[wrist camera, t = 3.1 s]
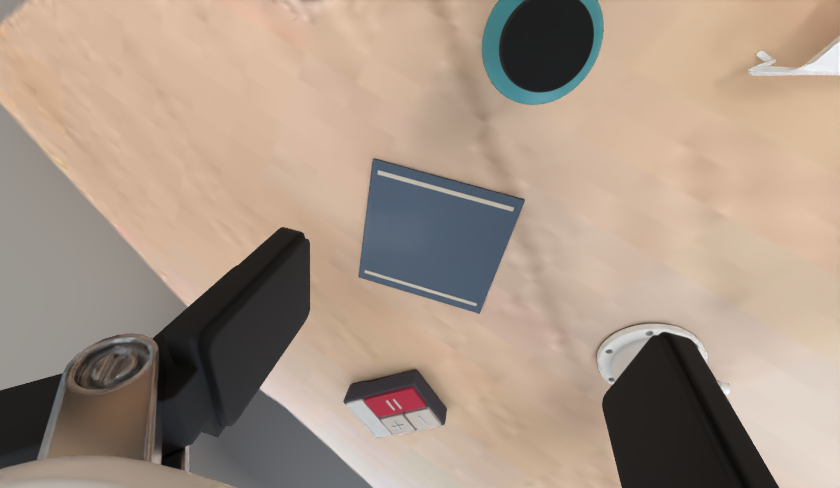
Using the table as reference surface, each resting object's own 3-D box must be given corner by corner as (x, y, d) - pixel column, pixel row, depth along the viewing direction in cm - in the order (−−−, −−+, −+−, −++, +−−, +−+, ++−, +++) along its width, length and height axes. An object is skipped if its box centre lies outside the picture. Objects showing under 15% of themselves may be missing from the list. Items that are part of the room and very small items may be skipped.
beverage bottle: (518, 93, 34) (524, 154, 18) (477, 33, 32) (441, 38, 16) (582, 43, 31) (664, 58, 14) (541, -27, 29) (579, -100, 13)
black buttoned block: (445, 429, 59) (374, 442, 65) (448, 406, 63) (381, 420, 69) (412, 387, 55) (340, 405, 61) (417, 365, 59) (349, 384, 65)
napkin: (524, 199, 40) (524, 200, 39) (479, 312, 49) (479, 313, 49) (373, 158, 41) (372, 159, 41) (359, 275, 51) (358, 277, 51)
